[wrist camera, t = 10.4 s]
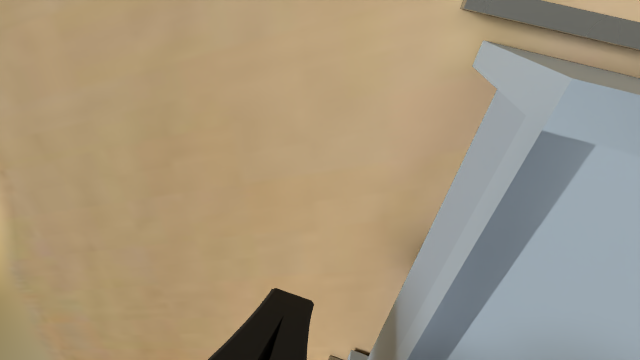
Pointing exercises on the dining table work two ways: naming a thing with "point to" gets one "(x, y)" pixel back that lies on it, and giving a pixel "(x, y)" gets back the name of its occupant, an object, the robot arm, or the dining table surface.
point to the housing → (533, 225)
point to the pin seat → (560, 22)
